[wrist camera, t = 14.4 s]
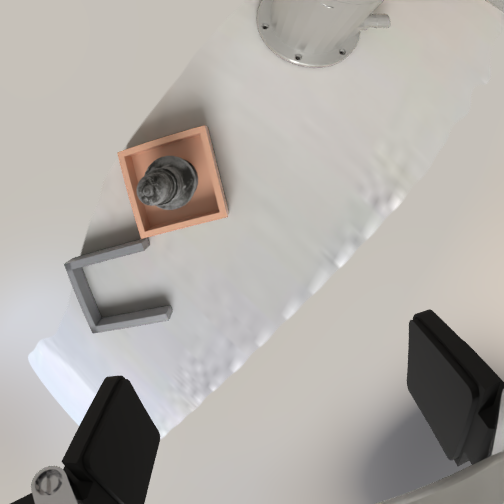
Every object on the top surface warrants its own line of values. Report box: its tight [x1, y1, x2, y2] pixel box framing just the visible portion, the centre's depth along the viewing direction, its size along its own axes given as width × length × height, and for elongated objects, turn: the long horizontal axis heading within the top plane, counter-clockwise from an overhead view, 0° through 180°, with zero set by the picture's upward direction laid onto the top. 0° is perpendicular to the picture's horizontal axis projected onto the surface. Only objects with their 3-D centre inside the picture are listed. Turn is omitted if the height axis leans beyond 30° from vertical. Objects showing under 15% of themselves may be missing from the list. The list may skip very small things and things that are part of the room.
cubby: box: [64, 238, 173, 333], centre depth 40 cm, size 12×10×2 cm
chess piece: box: [136, 156, 198, 210], centre depth 31 cm, size 6×6×12 cm
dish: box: [118, 125, 229, 239], centre depth 36 cm, size 10×10×3 cm
